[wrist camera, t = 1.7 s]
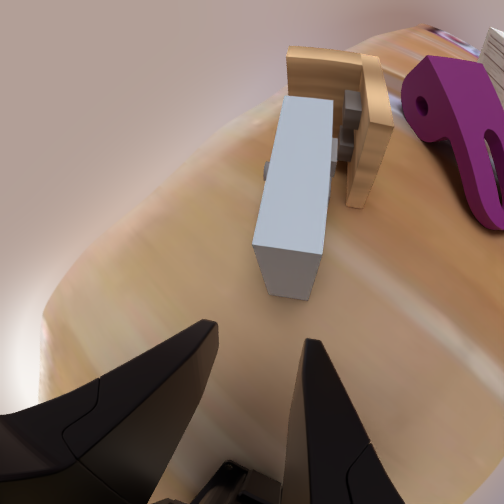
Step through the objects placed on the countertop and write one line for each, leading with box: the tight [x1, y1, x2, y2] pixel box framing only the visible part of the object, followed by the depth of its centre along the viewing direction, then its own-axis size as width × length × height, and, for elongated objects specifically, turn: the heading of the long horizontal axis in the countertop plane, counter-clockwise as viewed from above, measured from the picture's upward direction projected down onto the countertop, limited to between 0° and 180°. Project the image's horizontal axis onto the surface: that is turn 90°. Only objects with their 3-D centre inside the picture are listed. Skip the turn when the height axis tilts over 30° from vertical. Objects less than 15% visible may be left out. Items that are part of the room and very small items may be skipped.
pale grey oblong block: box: [252, 96, 338, 301], centre depth 18 cm, size 10×5×10 cm, turn 169°
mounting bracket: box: [401, 55, 504, 230], centre depth 22 cm, size 9×8×18 cm
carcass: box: [286, 46, 394, 209], centre depth 20 cm, size 9×7×10 cm
